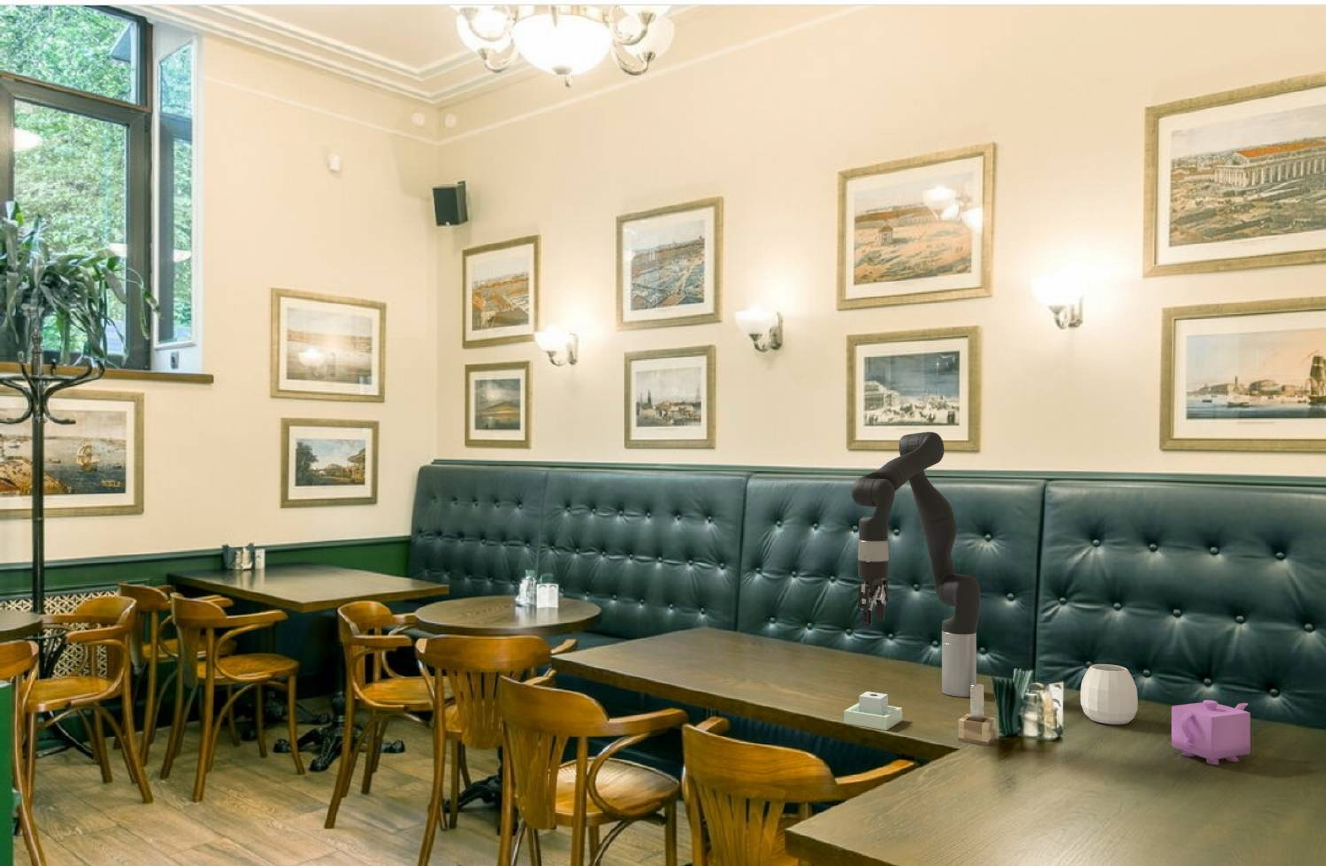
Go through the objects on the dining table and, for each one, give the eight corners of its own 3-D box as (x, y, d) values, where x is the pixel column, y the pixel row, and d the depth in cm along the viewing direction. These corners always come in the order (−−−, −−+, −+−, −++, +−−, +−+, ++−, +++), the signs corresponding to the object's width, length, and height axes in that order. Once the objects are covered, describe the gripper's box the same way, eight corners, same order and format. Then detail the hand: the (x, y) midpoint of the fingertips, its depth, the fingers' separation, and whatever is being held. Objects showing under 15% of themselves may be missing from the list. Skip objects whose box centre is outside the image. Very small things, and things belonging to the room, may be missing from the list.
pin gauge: (972, 733, 237) (972, 682, 237) (985, 735, 235) (985, 684, 235) (968, 736, 234) (968, 685, 235) (981, 738, 233) (981, 686, 233)
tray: (860, 713, 257) (861, 701, 257) (902, 720, 251) (902, 707, 251) (844, 723, 248) (844, 710, 248) (886, 730, 242) (886, 717, 242)
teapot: (1202, 768, 214) (1202, 709, 214) (1163, 754, 224) (1163, 698, 224) (1268, 758, 222) (1268, 701, 222) (1227, 745, 231) (1227, 691, 231)
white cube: (866, 715, 253) (866, 691, 253) (887, 718, 250) (887, 694, 250) (859, 719, 249) (859, 695, 249) (880, 723, 246) (880, 698, 246)
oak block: (966, 734, 239) (966, 713, 239) (995, 739, 236) (995, 718, 236) (958, 741, 234) (958, 720, 234) (987, 746, 230) (987, 724, 230)
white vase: (1137, 717, 255) (1137, 665, 255) (1138, 730, 243) (1138, 675, 243) (1081, 711, 260) (1081, 660, 260) (1079, 724, 248) (1079, 670, 248)
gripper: (869, 554, 258) (870, 617, 258) (848, 560, 246) (848, 625, 246) (897, 556, 254) (898, 620, 254) (877, 561, 242) (877, 628, 242)
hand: (873, 622), depth 250 cm, fingers open, 8 cm apart
